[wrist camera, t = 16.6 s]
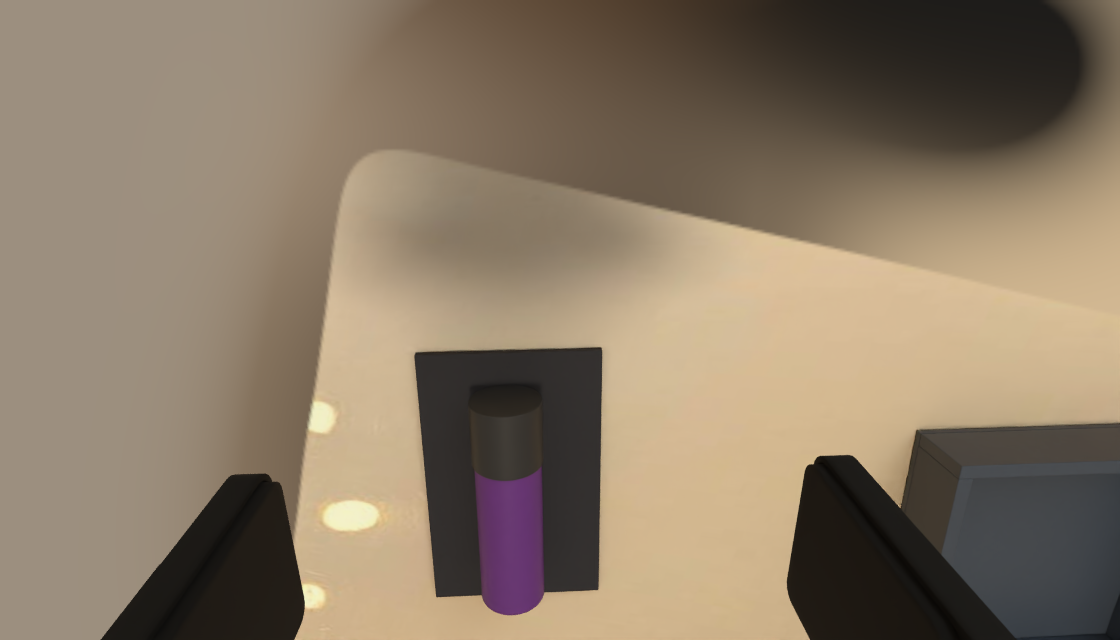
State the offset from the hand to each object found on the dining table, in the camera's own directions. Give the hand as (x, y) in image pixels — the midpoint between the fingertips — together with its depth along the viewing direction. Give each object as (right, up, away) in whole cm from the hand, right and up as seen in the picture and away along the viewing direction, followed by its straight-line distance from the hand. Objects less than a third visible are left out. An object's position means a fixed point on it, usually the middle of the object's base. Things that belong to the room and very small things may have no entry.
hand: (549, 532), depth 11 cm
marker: (-3, -6, +24) cm, 25 cm away
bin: (+29, -10, +28) cm, 42 cm away
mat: (-3, -5, +24) cm, 25 cm away
